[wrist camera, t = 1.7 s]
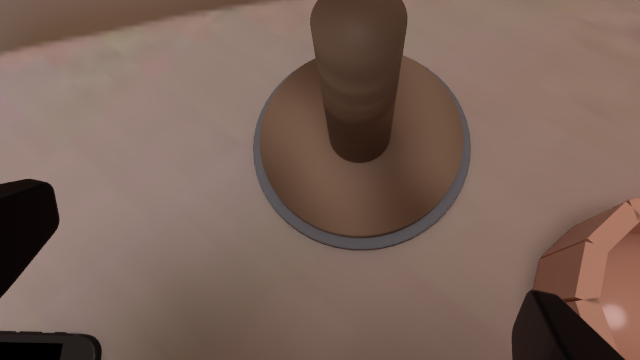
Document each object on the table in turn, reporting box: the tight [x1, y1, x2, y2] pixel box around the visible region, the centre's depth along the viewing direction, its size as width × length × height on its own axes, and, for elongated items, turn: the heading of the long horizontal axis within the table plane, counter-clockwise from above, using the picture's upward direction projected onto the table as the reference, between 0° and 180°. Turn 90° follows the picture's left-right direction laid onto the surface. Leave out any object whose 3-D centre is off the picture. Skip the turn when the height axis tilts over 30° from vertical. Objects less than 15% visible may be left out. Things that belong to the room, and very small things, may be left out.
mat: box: [253, 62, 471, 250], centre depth 23 cm, size 11×11×1 cm
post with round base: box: [259, 0, 464, 238], centre depth 18 cm, size 10×10×10 cm
